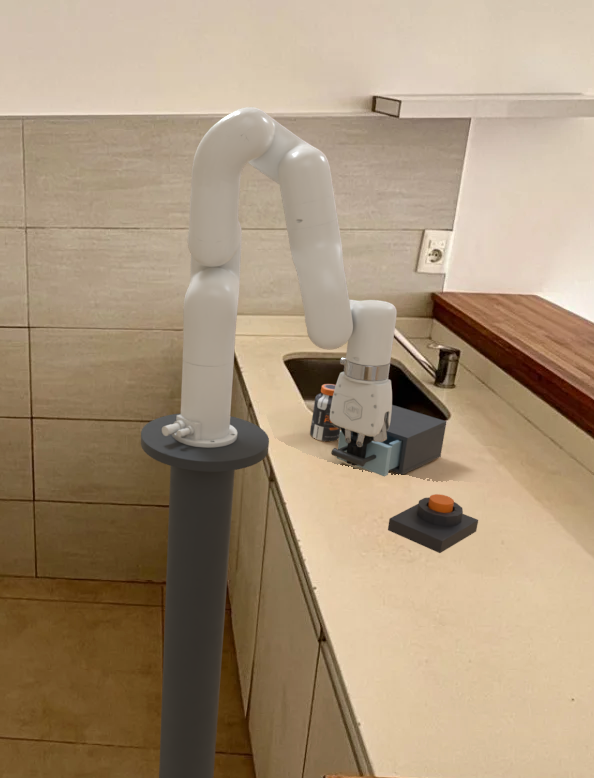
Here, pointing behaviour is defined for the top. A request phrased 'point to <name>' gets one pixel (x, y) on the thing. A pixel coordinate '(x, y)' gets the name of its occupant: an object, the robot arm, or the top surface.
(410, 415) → the drawer cabinet
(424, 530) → the control block
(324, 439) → the pill bottle
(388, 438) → the blue drawer
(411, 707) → the top surface
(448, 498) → the button
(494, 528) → the top surface
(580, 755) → the top surface
